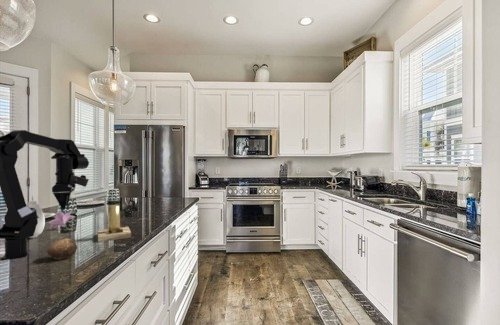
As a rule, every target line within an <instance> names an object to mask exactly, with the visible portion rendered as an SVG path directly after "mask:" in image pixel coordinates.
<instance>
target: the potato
mask: <svg viewBox="0 0 500 325" xmlns="http://www.w3.org/2000/svg"><path fill="white" fill-rule="evenodd" d="M77 250H78V246H77V243H76V241H74V239H71V238H60V239H58V240H56V241H55V242H53V243H51V244H50V245H49V246H48V248H47V250H46V252H47V255H48V257H49V258H51V259H53V260H59V261H60V260H61V261H62V260H66V259H68V258H71V257H73V255H75V254H76V252H77Z"/></svg>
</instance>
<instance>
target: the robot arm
mask: <svg viewBox="0 0 500 325" xmlns="http://www.w3.org/2000/svg"><path fill="white" fill-rule="evenodd" d="M26 144H28V145H31V146H36V147H41V148H45V149H47V150H49V151H50V152H53V153H54V155H52V156H51V157H50V158H51V160H55V173H54V174H55V177H56V178H55V180H56V181H55V184H54V185H53V186H52V187H51V193H52V194H53V195H54V197H55V199H56V201H57V203H58V205H59V206H60V208H61V210H65V209H66V207H67V206H69V202H70V199H71V198H70V197H71V194H72V192H74V191H75V190H76V185H79V186H81V187H84V188H85V187H87V185H88V182H89V181H90V180H89V178H87V175H83V174H81V175H79V176H78V175H75V172H74V170H86V169H87V168H88V166H89V164H90V162H89V159H88V158H87V157H86V155H85V154H84V153H81V152H80V150H79V148H78V147H77V145H76V143H75V141H74V140H72V139H64V138H63V139H62V138H61V139H59V138H53V137H49V136H45V135H42V134H37V133H34V132H30V131H28V130H26V129H25V130H24V129H18V130H17V129H16V130H15V129H13V130H12V131H10V132H8V133H6V134H4V135H1V136H0V190H1V194H2V198H3V200H4V203H5V206H6V213H5V215H4V224H3V225H2V226H1V228H0V240H4V254H3V256H2V257H0V260H2V261H3V260H8V259H17V258H22V257H27V256H28V255H29V254H30V252H31V249H28V239H29V238H28V237H31V236H33V235H34V232H35V229H36V226H37V224H38V219H37V218H39V217H38V216H37V212H36V209H35V208H29V207H28V206H27V205H28V204H26V200H25V196H24V193H23V190H22V187H21V183H20V181H19V180H20V179H19V177H18V174H17V170H16V163H17V161H18V159H19V158H18V152H19V151H20V150H21V149H23V148H24V146H25V145H26Z"/></svg>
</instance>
